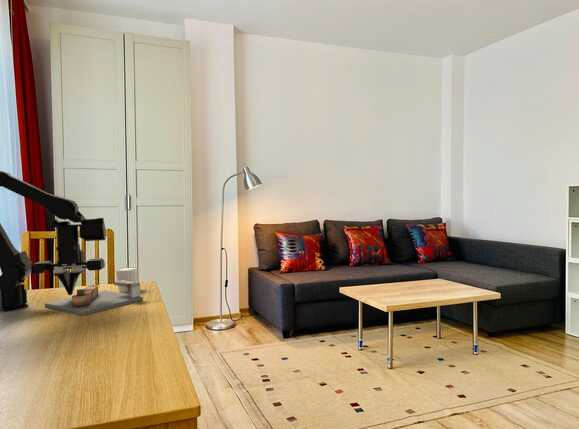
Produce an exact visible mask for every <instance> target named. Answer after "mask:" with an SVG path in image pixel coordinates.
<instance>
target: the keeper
mask: <svg viewBox="0 0 579 429" xmlns="http://www.w3.org/2000/svg"><path fill="white" fill-rule="evenodd" d="M113 286H117V287H118V286H123V287H127V291H126V292H127V294H128V298H136V297H140V296H141V282H138V281H137V282H132V281H125V280H120V281H117V280H116V281H113Z"/></svg>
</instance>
